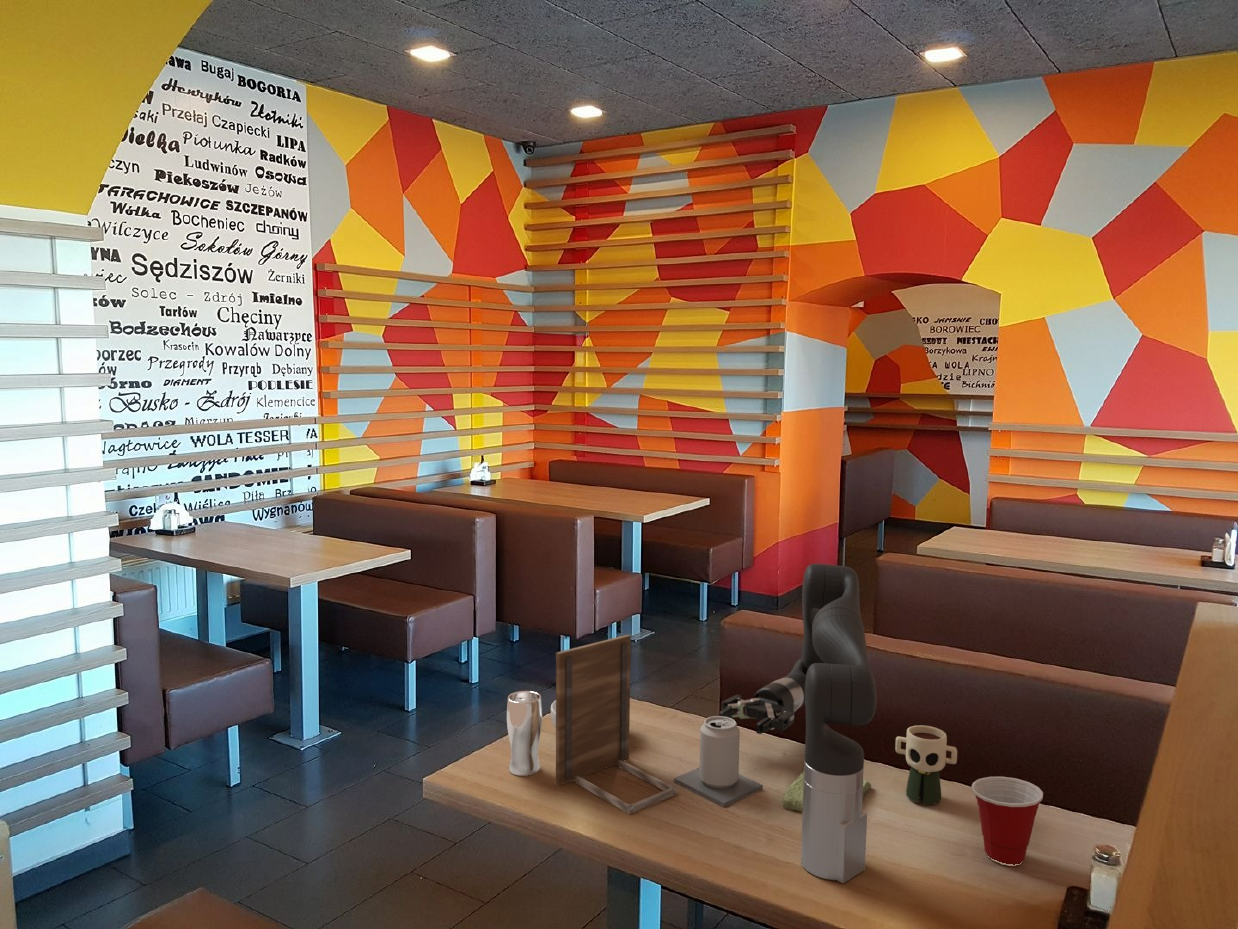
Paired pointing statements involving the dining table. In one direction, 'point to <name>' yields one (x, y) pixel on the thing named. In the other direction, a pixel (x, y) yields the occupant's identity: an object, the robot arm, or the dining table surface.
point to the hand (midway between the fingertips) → (739, 723)
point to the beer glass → (524, 731)
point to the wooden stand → (597, 718)
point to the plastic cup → (1006, 816)
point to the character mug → (925, 761)
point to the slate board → (718, 795)
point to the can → (719, 752)
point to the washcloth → (795, 794)
